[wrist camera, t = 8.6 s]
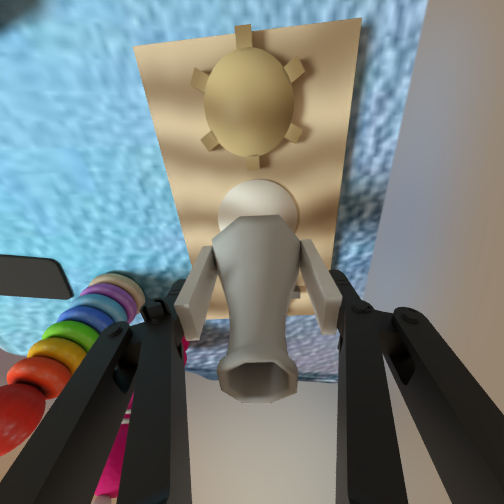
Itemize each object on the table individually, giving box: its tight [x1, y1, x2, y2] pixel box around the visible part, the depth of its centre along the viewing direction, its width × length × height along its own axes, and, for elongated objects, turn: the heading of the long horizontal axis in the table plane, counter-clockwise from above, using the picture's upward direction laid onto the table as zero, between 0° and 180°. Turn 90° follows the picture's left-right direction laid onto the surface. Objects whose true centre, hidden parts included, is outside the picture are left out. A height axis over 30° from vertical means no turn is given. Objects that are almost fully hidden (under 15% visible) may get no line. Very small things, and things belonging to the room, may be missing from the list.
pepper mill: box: [92, 335, 190, 504], centre depth 27 cm, size 7×7×20 cm
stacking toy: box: [0, 273, 145, 456], centre depth 23 cm, size 8×8×19 cm
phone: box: [0, 255, 72, 300], centre depth 30 cm, size 7×1×15 cm
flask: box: [212, 214, 301, 403], centre depth 12 cm, size 7×7×10 cm
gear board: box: [133, 18, 362, 319], centre depth 24 cm, size 31×18×3 cm, turn 5°
